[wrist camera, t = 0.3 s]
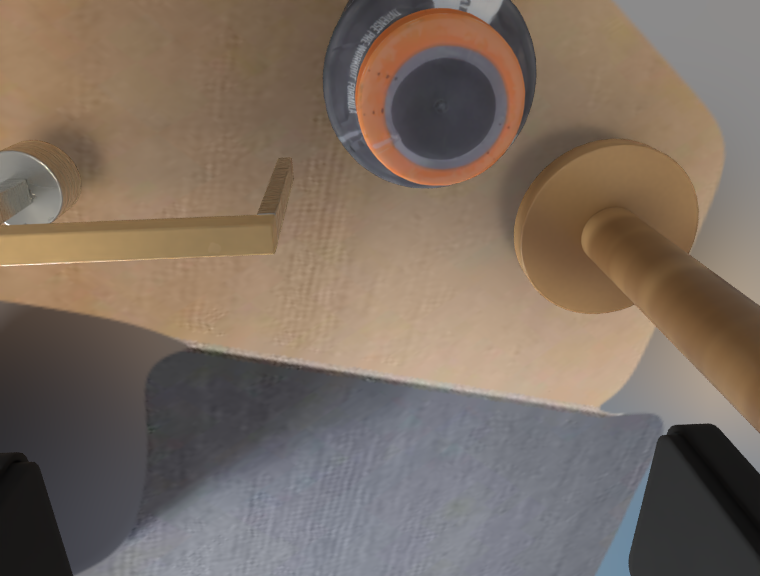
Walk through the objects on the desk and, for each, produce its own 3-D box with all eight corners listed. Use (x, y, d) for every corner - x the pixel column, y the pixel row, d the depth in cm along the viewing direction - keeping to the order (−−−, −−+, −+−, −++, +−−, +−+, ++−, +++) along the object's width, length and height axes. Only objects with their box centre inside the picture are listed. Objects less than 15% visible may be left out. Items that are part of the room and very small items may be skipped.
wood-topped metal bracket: (13, 215, 26) (-122, 306, 18) (-9, 141, 25) (-165, 205, 17) (296, 204, 27) (279, 287, 19) (289, 130, 25) (268, 188, 18)
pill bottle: (391, -71, 22) (417, -107, 12) (514, 28, 24) (627, 69, 14) (306, 71, 24) (268, 140, 14) (424, 153, 26) (465, 267, 16)
